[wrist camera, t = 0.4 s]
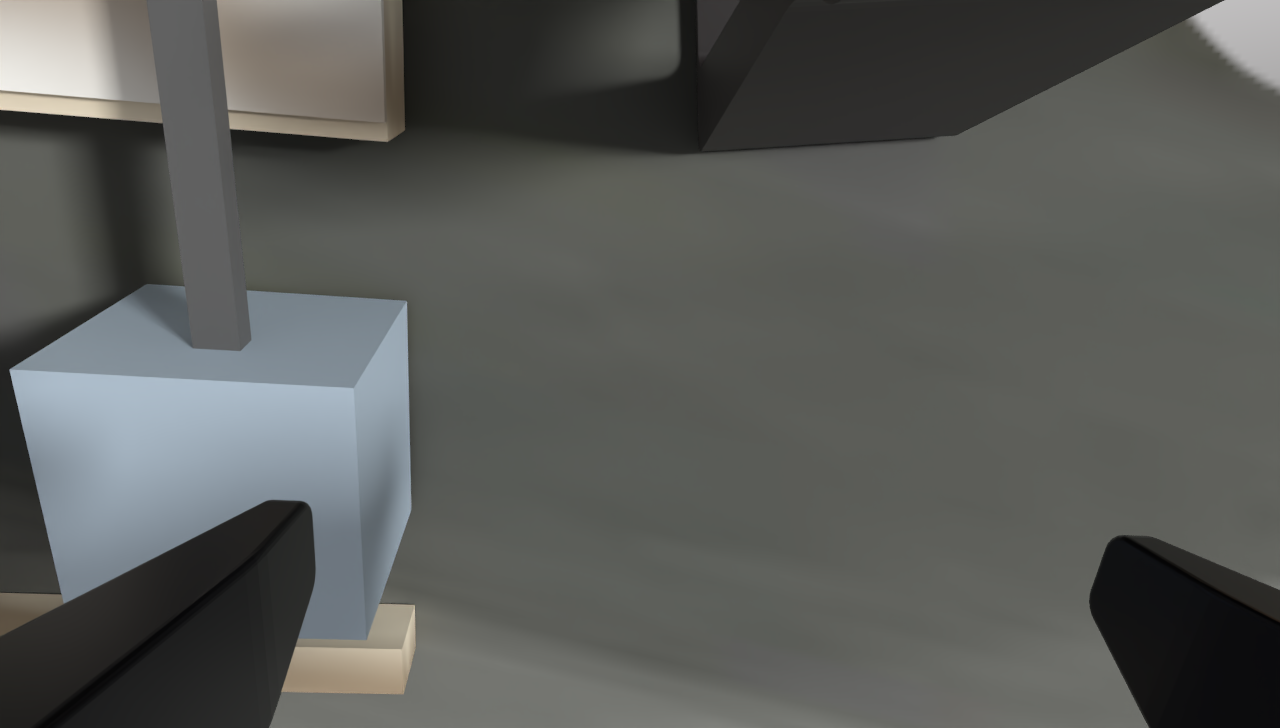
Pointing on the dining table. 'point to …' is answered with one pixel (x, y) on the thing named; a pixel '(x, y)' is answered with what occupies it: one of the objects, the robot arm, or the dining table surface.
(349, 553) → the pale blue mallet
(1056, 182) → the dining table surface
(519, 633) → the dining table surface
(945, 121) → the phone stand
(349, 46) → the beige grey patterned tray
